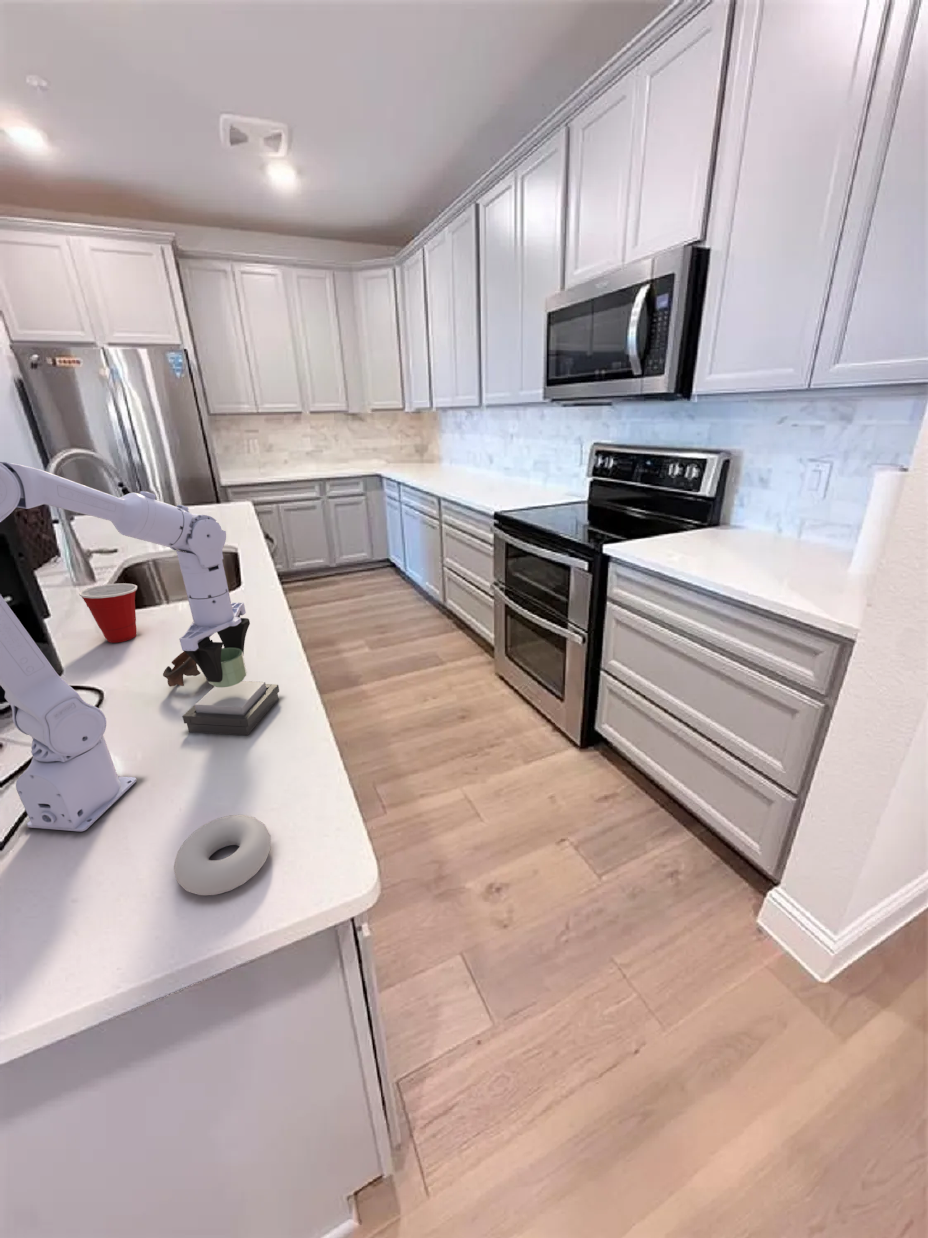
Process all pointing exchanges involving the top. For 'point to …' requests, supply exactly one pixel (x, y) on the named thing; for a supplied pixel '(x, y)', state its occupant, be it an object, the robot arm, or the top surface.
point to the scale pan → (231, 698)
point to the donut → (230, 871)
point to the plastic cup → (113, 610)
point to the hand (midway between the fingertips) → (225, 671)
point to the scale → (232, 716)
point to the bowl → (231, 667)
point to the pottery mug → (181, 669)
